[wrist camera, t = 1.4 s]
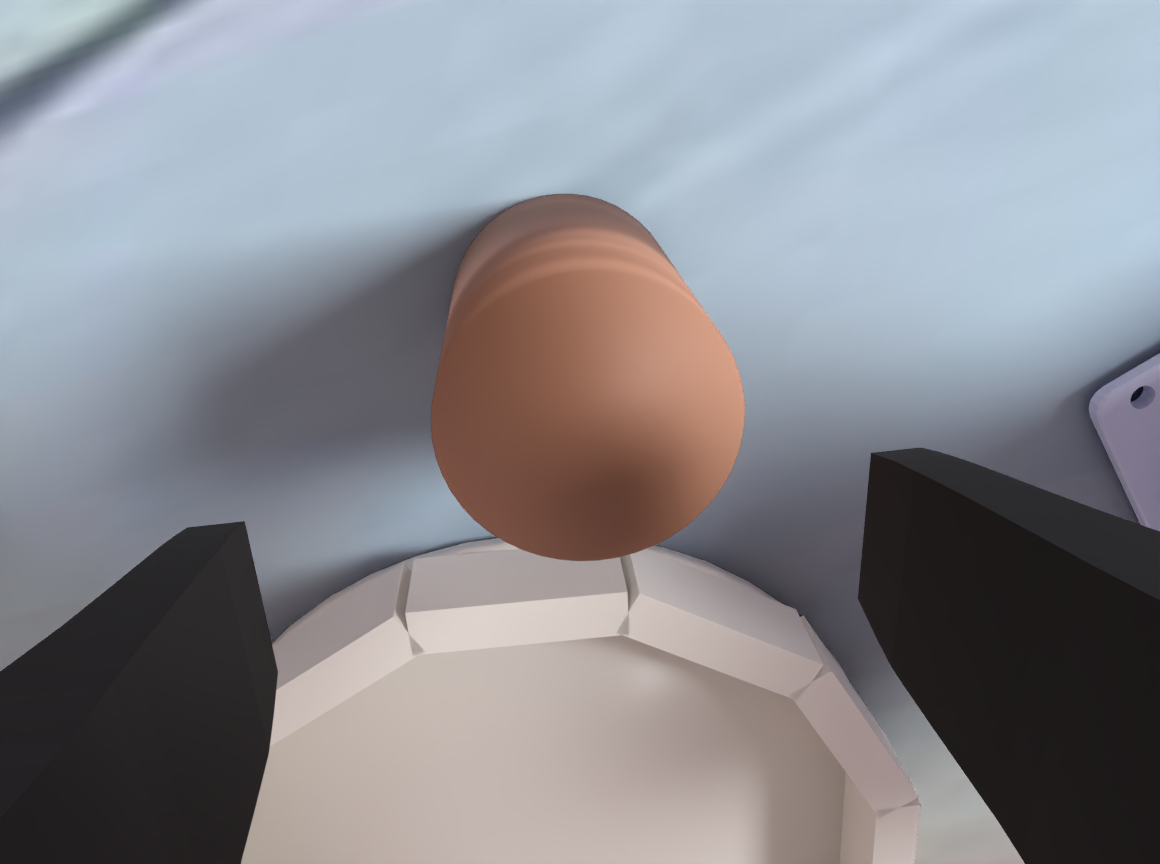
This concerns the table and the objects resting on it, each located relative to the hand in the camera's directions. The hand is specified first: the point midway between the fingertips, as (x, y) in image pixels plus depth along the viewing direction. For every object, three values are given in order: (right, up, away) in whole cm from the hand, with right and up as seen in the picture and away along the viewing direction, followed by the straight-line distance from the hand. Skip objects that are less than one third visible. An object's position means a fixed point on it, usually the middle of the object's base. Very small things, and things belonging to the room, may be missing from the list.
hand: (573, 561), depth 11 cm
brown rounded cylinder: (0, +4, +8) cm, 9 cm away
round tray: (-1, -9, +13) cm, 16 cm away
